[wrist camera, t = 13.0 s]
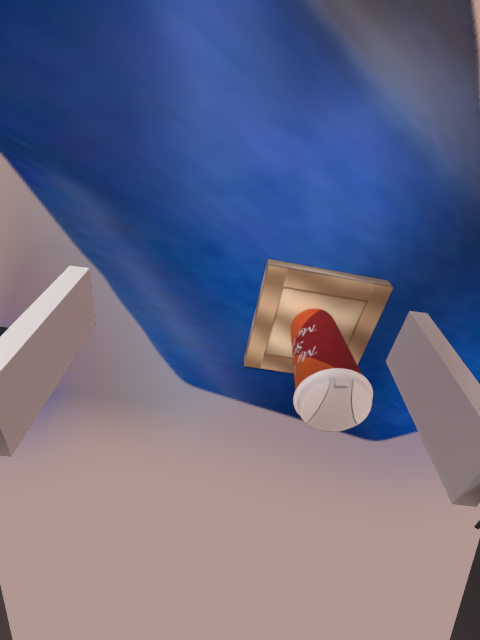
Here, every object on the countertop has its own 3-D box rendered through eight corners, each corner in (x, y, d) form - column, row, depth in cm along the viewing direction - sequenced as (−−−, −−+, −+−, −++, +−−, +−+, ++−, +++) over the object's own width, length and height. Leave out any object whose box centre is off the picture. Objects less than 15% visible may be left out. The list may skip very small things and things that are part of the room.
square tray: (267, 258, 45) (268, 265, 44) (387, 280, 47) (393, 287, 45) (244, 356, 54) (244, 365, 52) (346, 372, 55) (349, 382, 53)
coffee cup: (285, 299, 47) (300, 376, 34) (348, 301, 47) (386, 379, 34) (279, 350, 51) (290, 435, 39) (337, 352, 51) (366, 438, 39)
